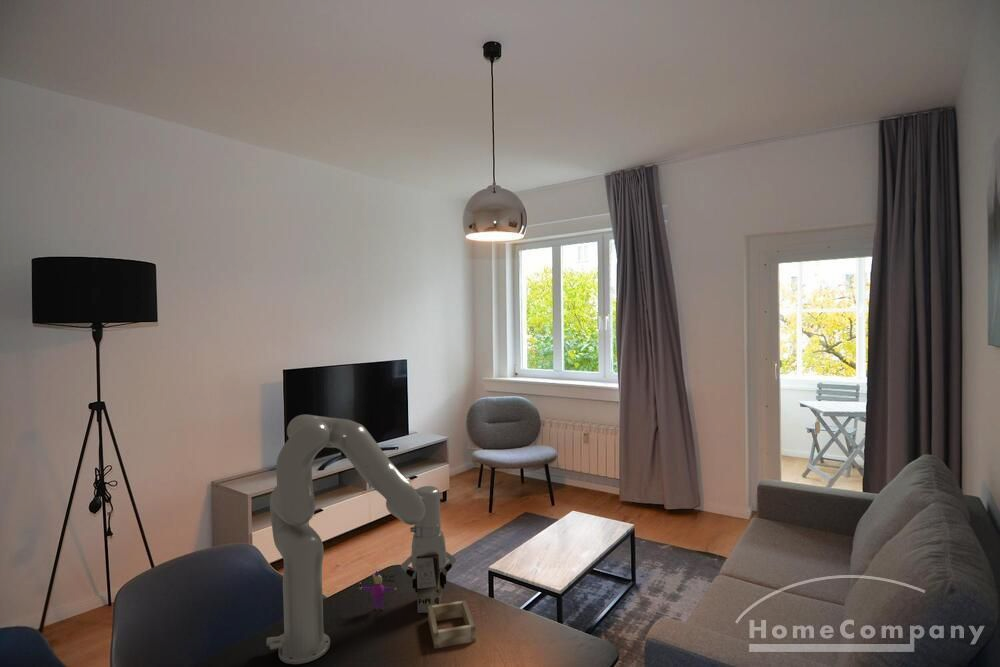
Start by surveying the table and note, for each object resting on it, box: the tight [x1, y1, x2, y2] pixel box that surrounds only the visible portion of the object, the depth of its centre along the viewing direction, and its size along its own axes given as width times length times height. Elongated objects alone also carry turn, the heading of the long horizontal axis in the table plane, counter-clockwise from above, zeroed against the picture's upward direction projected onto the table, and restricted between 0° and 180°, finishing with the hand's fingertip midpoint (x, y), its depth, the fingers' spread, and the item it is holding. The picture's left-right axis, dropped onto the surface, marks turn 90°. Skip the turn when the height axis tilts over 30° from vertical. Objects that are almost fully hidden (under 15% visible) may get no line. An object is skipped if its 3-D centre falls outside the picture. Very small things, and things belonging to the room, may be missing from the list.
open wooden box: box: [427, 600, 477, 649], centre depth 147 cm, size 11×14×4 cm
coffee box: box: [416, 554, 442, 614], centre depth 160 cm, size 9×6×16 cm
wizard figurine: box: [359, 570, 398, 611], centre depth 157 cm, size 11×3×12 cm, turn 85°
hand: (429, 588), depth 160 cm, fingers closed on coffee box, 7 cm apart
